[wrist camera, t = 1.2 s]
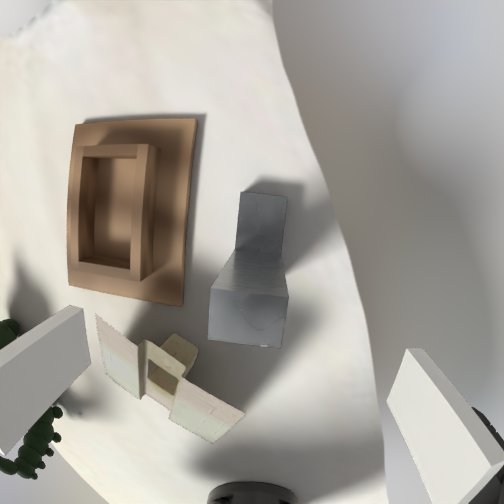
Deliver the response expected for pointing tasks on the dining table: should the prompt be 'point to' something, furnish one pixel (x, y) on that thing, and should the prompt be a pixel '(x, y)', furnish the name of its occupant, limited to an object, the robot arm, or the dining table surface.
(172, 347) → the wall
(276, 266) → the bracket
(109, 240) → the brown wooden flat frame
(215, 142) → the dining table surface
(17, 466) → the toy figurine
